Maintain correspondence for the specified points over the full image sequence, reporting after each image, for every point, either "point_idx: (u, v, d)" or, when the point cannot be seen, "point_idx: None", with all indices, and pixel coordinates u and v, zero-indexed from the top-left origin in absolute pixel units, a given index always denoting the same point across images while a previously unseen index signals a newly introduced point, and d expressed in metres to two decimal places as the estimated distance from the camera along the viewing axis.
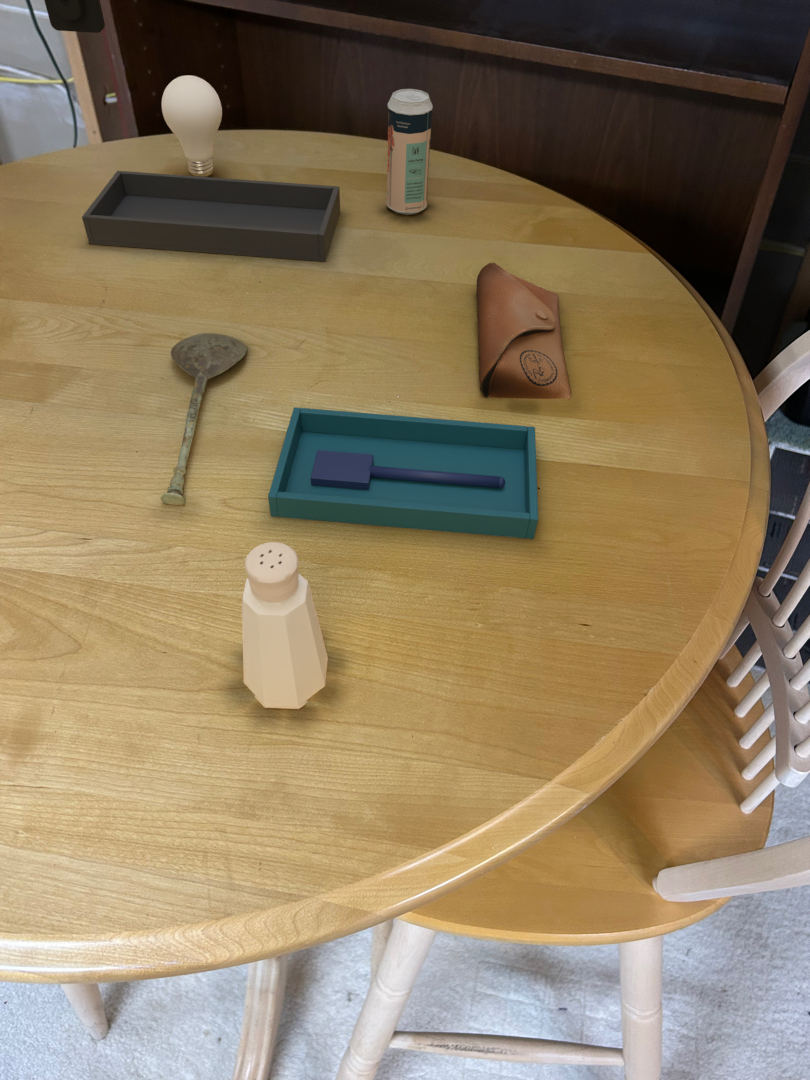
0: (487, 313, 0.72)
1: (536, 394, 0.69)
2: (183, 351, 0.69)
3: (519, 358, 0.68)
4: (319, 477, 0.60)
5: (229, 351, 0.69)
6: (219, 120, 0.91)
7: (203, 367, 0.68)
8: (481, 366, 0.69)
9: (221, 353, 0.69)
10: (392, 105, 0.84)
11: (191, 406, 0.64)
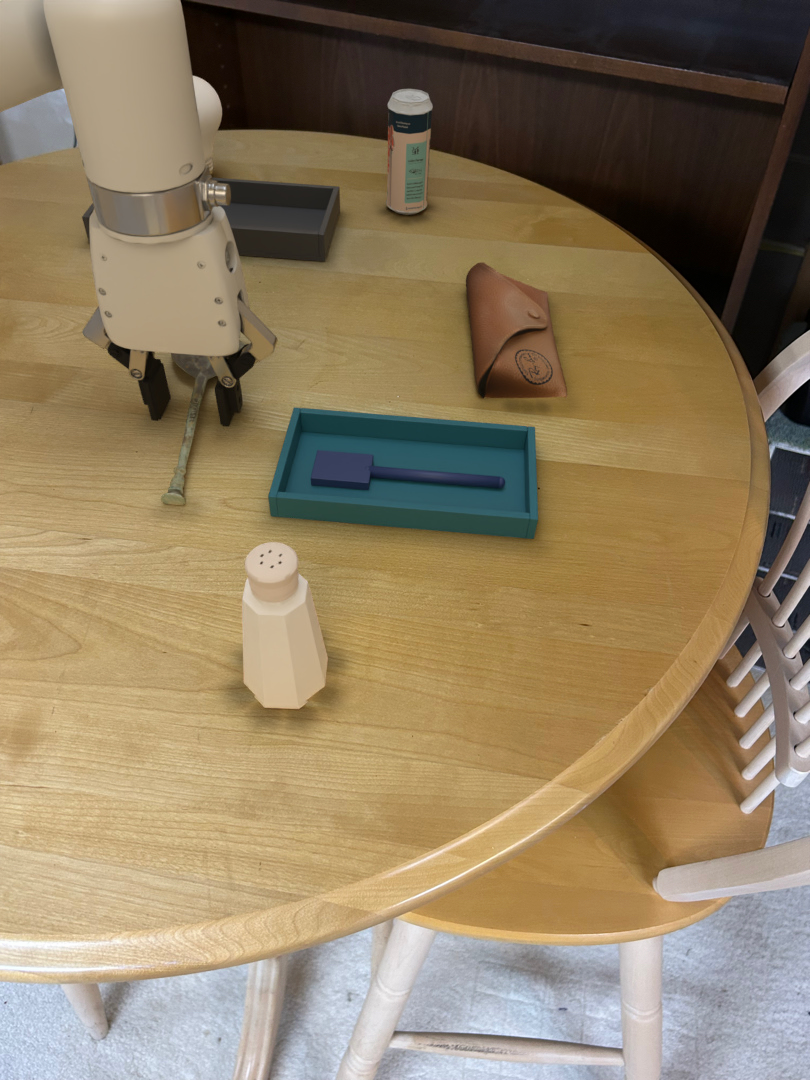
0: (479, 313, 0.72)
1: (532, 393, 0.69)
2: None
3: (515, 358, 0.68)
4: (319, 477, 0.60)
5: None
6: (219, 120, 0.91)
7: (203, 367, 0.68)
8: (477, 367, 0.69)
9: None
10: (392, 105, 0.84)
11: (192, 406, 0.64)
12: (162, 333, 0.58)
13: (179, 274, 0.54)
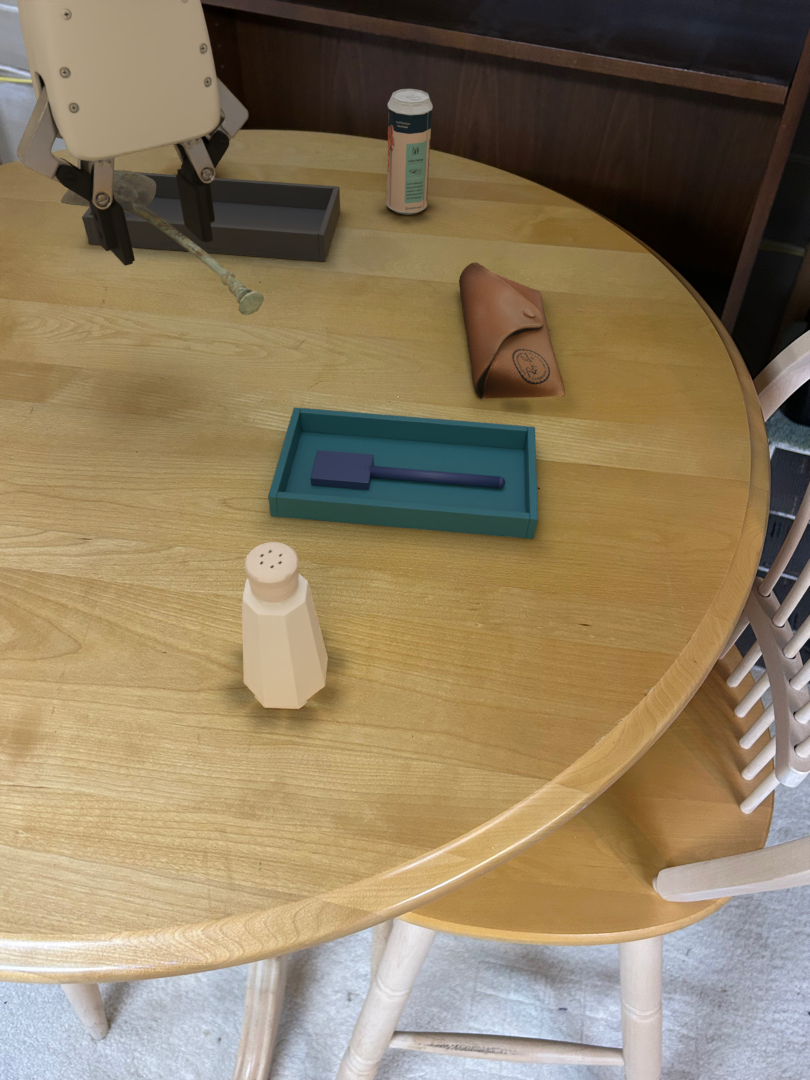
0: (475, 314, 0.72)
1: (530, 392, 0.69)
2: None
3: (512, 358, 0.68)
4: (319, 477, 0.60)
5: (141, 177, 0.58)
6: None
7: (132, 197, 0.56)
8: (474, 367, 0.69)
9: (137, 180, 0.57)
10: (392, 105, 0.84)
11: (167, 228, 0.54)
12: (142, 117, 0.47)
13: (162, 16, 0.45)
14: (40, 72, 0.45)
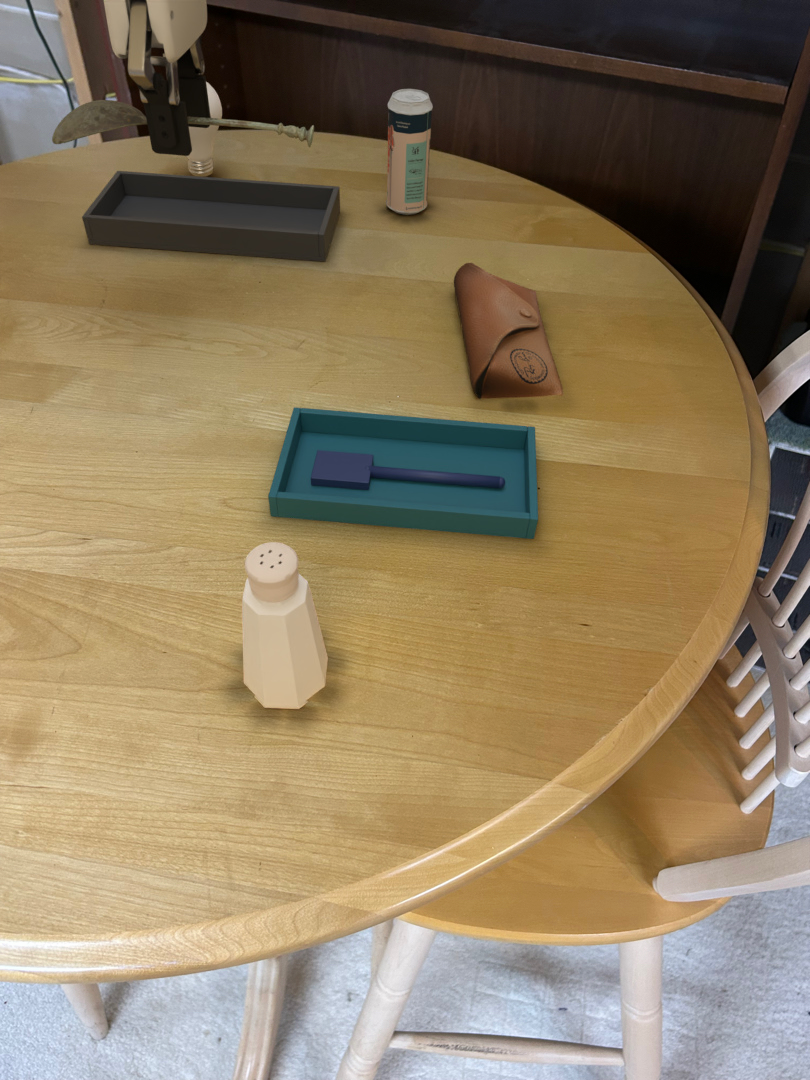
0: (471, 314, 0.72)
1: (529, 392, 0.69)
2: (105, 117, 0.65)
3: (510, 358, 0.68)
4: (319, 477, 0.60)
5: None
6: None
7: (134, 112, 0.67)
8: (472, 367, 0.69)
9: None
10: (392, 105, 0.84)
11: (194, 118, 0.67)
12: (191, 18, 0.61)
13: None
14: None
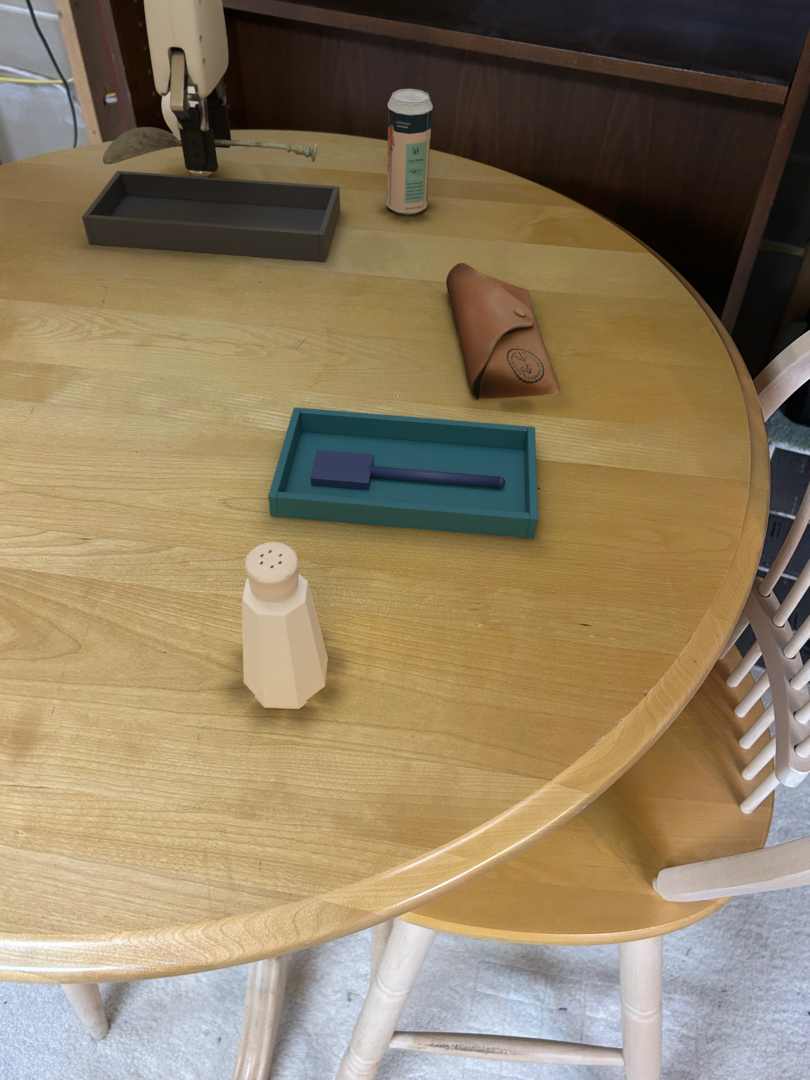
0: (466, 314, 0.72)
1: (526, 392, 0.69)
2: (147, 141, 0.80)
3: (506, 358, 0.68)
4: (319, 477, 0.60)
5: (152, 127, 0.83)
6: None
7: (170, 137, 0.82)
8: (469, 368, 0.69)
9: (156, 128, 0.82)
10: (392, 105, 0.84)
11: (219, 140, 0.82)
12: (217, 61, 0.76)
13: None
14: (180, 45, 0.71)
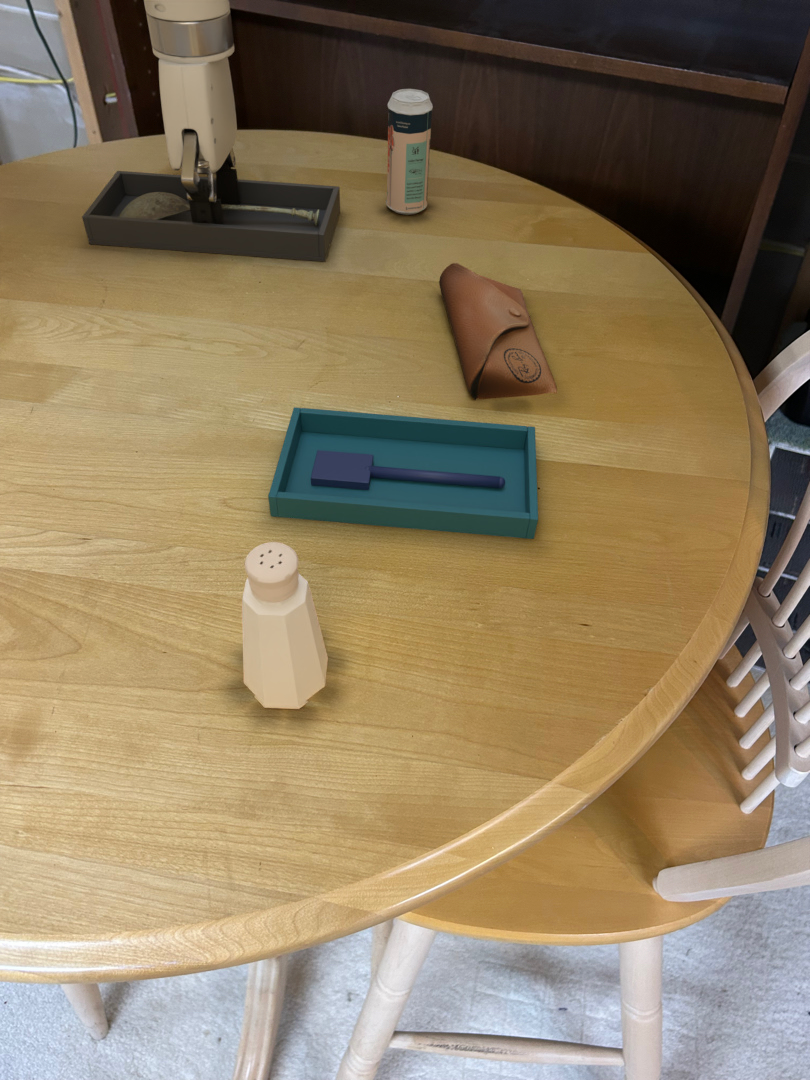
0: (462, 315, 0.72)
1: (523, 391, 0.69)
2: (160, 207, 0.85)
3: (504, 358, 0.68)
4: (319, 477, 0.60)
5: (164, 192, 0.88)
6: None
7: (181, 202, 0.87)
8: (466, 369, 0.69)
9: (167, 193, 0.87)
10: (392, 105, 0.84)
11: (227, 206, 0.87)
12: (227, 137, 0.81)
13: (227, 76, 0.79)
14: (193, 127, 0.76)
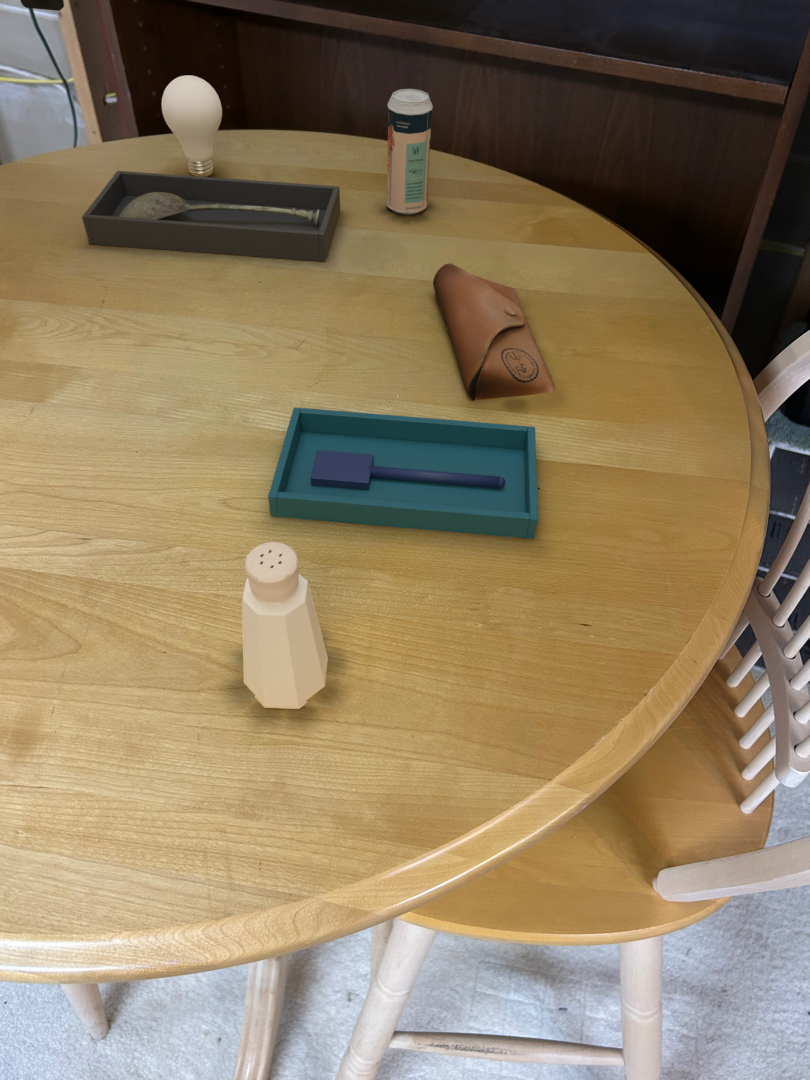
0: (457, 316, 0.72)
1: (522, 391, 0.69)
2: (160, 207, 0.85)
3: (501, 358, 0.68)
4: (319, 477, 0.60)
5: (164, 192, 0.88)
6: (219, 120, 0.91)
7: (181, 202, 0.87)
8: (464, 369, 0.68)
9: (167, 193, 0.87)
10: (392, 105, 0.84)
11: (227, 205, 0.87)
12: None
13: None
14: None
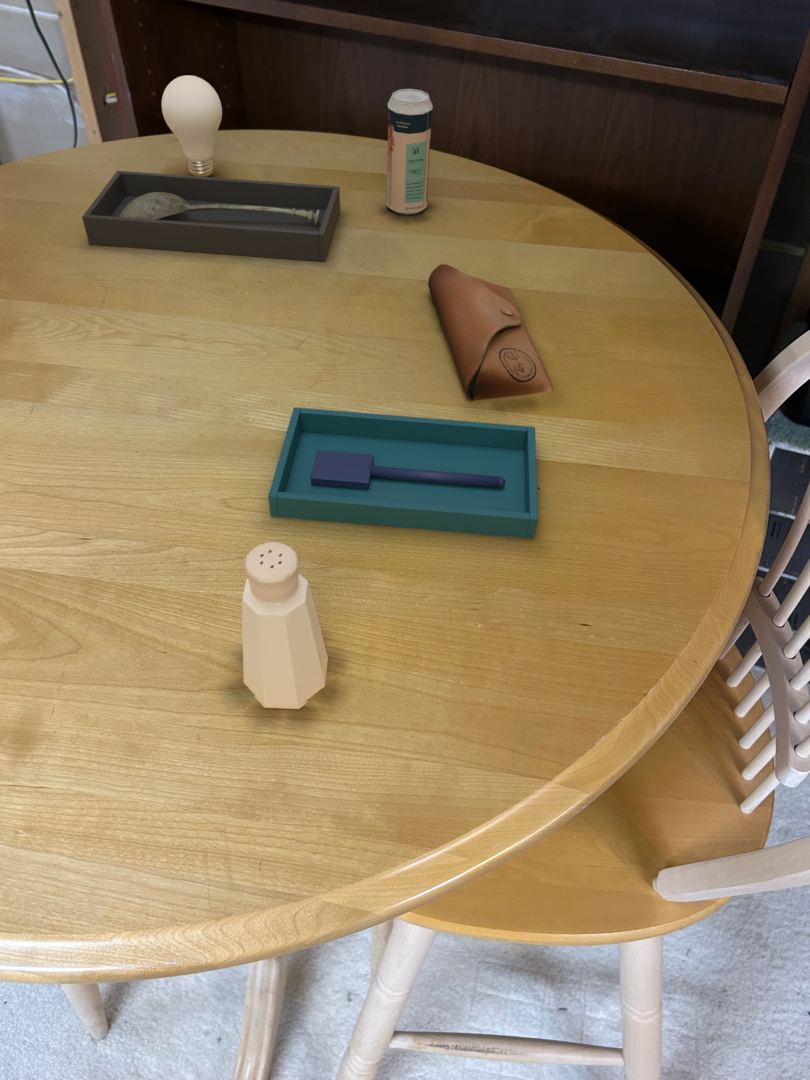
0: (454, 316, 0.72)
1: (520, 391, 0.69)
2: (160, 207, 0.85)
3: (499, 358, 0.68)
4: (319, 477, 0.60)
5: (164, 192, 0.88)
6: (219, 120, 0.91)
7: (181, 202, 0.87)
8: (462, 370, 0.68)
9: (167, 193, 0.87)
10: (392, 105, 0.84)
11: (227, 205, 0.87)
12: None
13: None
14: None
